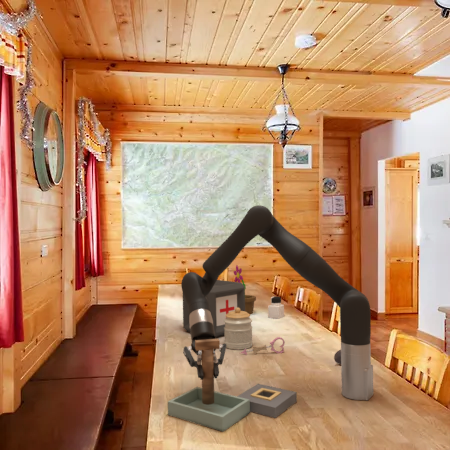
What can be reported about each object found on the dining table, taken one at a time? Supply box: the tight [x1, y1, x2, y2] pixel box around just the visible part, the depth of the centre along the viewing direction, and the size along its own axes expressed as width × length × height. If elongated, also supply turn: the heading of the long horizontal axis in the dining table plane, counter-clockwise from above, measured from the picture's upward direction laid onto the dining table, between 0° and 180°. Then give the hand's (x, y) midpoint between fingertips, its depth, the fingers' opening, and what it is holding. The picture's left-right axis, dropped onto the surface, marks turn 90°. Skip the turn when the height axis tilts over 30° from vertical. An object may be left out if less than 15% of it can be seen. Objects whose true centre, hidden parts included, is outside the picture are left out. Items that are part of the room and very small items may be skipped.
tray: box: [167, 386, 251, 433], centre depth 133 cm, size 20×14×4 cm
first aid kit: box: [182, 279, 246, 339], centre depth 234 cm, size 25×25×25 cm
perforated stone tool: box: [333, 349, 341, 365], centre depth 177 cm, size 15×5×7 cm, turn 102°
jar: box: [223, 307, 254, 351], centre depth 205 cm, size 13×13×18 cm
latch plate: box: [236, 383, 298, 419], centre depth 139 cm, size 14×14×3 cm
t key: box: [195, 338, 221, 405], centre depth 133 cm, size 7×4×18 cm, turn 102°
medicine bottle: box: [267, 296, 285, 320], centre depth 264 cm, size 7×7×12 cm
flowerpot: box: [233, 264, 257, 316], centre depth 276 cm, size 14×14×30 cm
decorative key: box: [240, 336, 286, 356], centre depth 193 cm, size 7×1×20 cm
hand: (209, 377), depth 132 cm, fingers closed on t key, 3 cm apart
